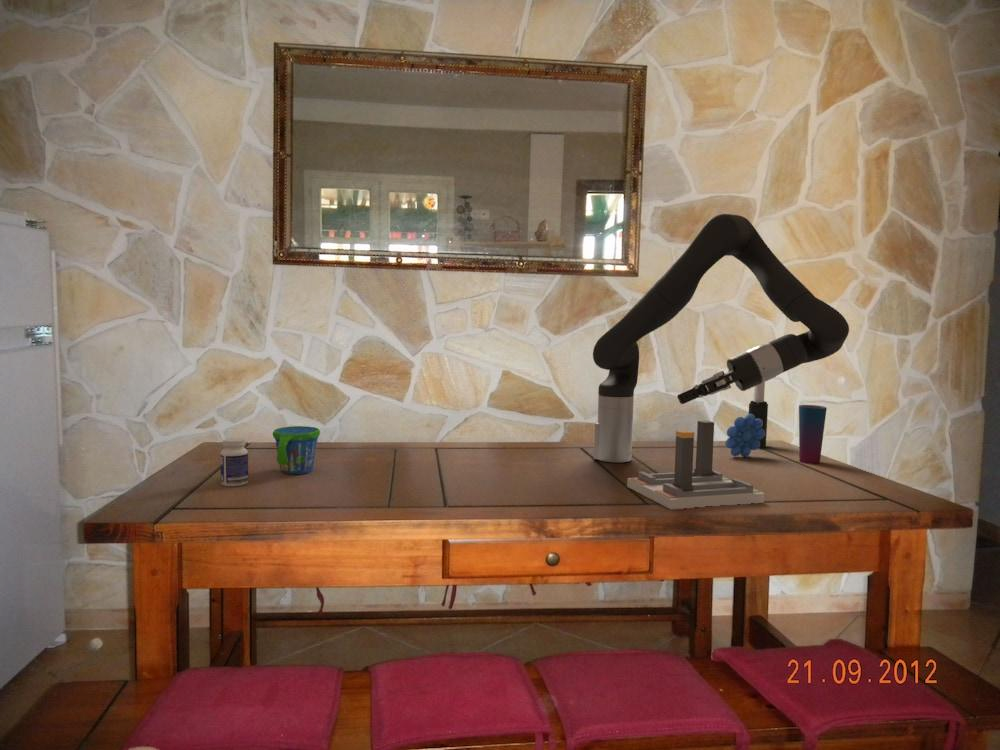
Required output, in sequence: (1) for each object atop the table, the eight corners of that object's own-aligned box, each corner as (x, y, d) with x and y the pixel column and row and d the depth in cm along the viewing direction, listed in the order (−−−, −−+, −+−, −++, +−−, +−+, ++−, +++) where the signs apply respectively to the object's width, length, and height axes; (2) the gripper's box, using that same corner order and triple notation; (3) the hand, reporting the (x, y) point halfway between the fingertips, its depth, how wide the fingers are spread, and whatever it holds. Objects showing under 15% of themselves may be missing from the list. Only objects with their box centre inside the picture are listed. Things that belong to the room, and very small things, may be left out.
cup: (826, 465, 190) (829, 408, 189) (798, 463, 192) (801, 407, 190) (820, 460, 197) (823, 405, 196) (793, 458, 198) (796, 404, 197)
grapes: (754, 453, 205) (756, 411, 204) (768, 458, 198) (770, 414, 197) (717, 454, 202) (719, 411, 201) (729, 459, 196) (731, 415, 195)
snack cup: (299, 480, 163) (298, 436, 162) (258, 477, 166) (257, 433, 165) (332, 466, 178) (332, 426, 177) (295, 463, 181) (294, 423, 180)
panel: (670, 509, 145) (673, 435, 144) (627, 486, 163) (629, 421, 162) (764, 502, 151) (767, 432, 150) (712, 481, 170) (714, 418, 168)
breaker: (680, 494, 148) (682, 433, 147) (672, 490, 151) (674, 430, 150) (692, 493, 149) (695, 432, 148) (685, 489, 152) (687, 430, 151)
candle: (766, 445, 217) (770, 362, 215) (764, 448, 212) (769, 363, 210) (748, 444, 219) (752, 361, 217) (746, 446, 215) (750, 362, 212)
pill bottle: (253, 482, 161) (253, 438, 160) (236, 488, 156) (236, 442, 155) (232, 479, 163) (232, 436, 162) (215, 485, 158) (214, 440, 157)
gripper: (771, 381, 146) (691, 416, 147) (754, 383, 159) (681, 416, 160) (755, 347, 147) (675, 382, 148) (740, 353, 160) (667, 385, 161)
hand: (679, 399), depth 154 cm, fingers closed
